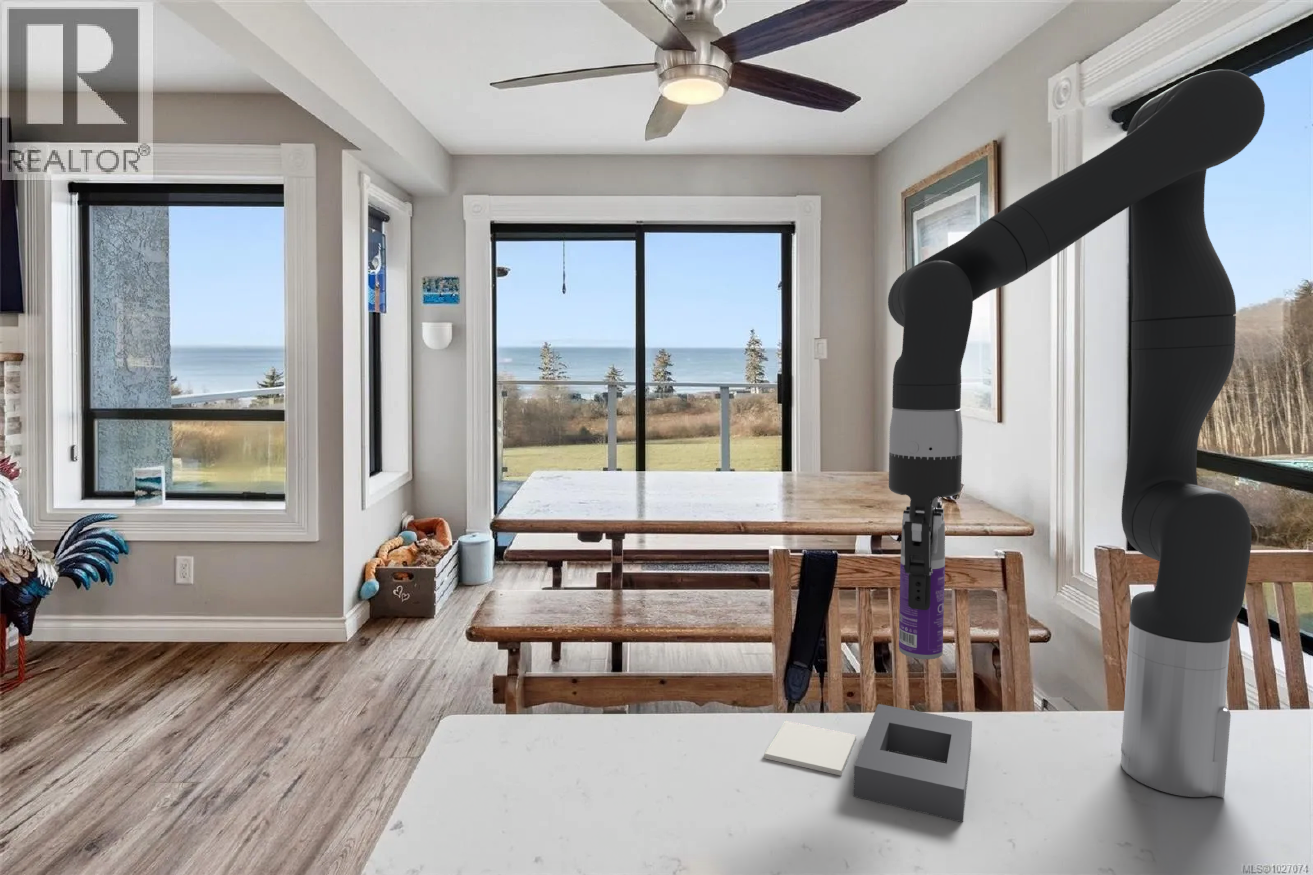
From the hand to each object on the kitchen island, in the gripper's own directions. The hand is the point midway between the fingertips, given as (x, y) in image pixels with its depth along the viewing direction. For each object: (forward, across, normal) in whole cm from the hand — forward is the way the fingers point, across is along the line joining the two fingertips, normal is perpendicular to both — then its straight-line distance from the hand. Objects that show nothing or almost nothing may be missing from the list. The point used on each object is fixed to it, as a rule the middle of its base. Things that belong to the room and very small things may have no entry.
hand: (921, 600), depth 85 cm
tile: (+20, 0, +12) cm, 24 cm away
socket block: (+20, 0, 0) cm, 20 cm away
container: (+6, 0, 0) cm, 6 cm away
